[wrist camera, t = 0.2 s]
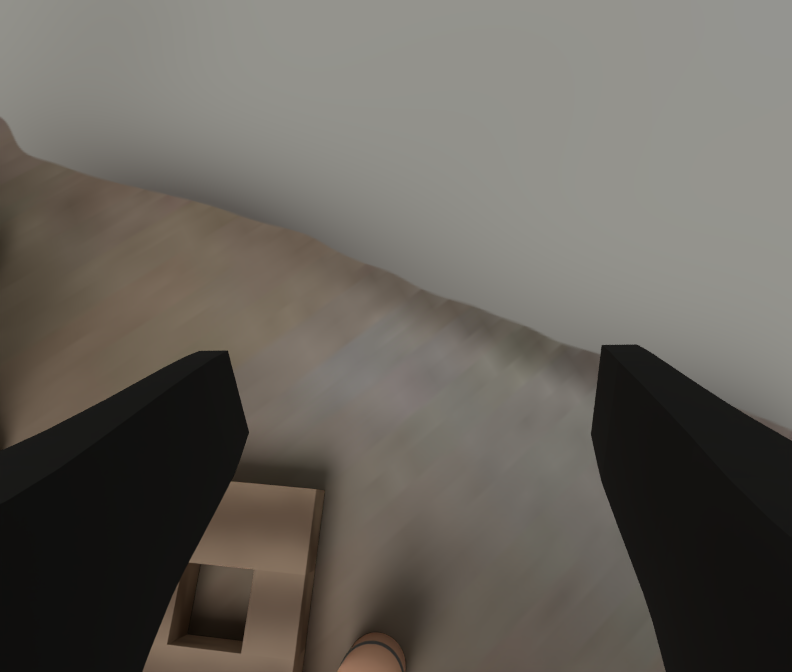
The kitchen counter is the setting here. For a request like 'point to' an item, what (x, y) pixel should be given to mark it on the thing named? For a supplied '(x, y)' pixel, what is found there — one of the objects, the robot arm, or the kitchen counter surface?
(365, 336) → the kitchen counter surface
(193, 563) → the socket board
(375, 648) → the peg
